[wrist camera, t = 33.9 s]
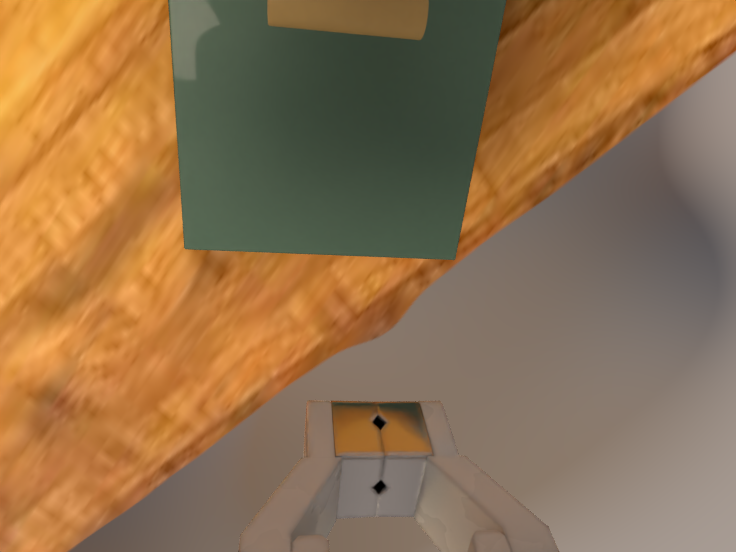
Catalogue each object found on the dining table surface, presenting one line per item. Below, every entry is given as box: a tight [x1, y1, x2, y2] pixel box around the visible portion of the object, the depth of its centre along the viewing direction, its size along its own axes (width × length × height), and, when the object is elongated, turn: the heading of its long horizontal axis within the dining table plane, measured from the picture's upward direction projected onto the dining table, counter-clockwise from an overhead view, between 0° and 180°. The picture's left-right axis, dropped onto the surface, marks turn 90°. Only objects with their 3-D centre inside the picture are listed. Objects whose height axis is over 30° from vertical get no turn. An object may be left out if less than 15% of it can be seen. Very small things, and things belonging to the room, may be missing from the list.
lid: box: [168, 0, 506, 260], centre depth 26 cm, size 14×15×5 cm
